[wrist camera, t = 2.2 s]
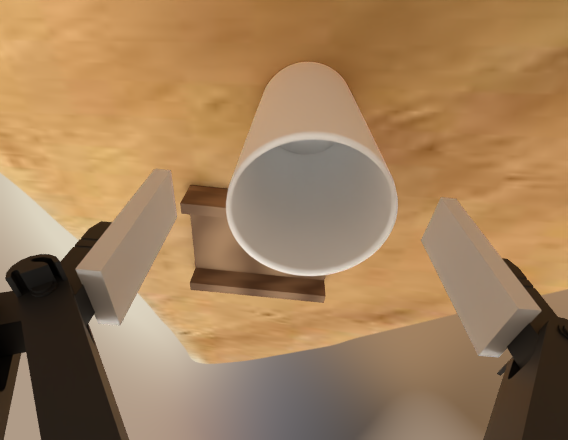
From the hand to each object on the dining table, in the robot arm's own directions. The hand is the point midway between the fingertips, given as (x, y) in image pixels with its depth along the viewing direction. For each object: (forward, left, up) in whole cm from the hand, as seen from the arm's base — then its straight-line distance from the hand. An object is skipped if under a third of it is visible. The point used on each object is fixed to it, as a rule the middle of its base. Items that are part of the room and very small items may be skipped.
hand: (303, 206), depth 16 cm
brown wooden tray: (+3, +15, -15) cm, 22 cm away
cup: (0, 0, -15) cm, 15 cm away
